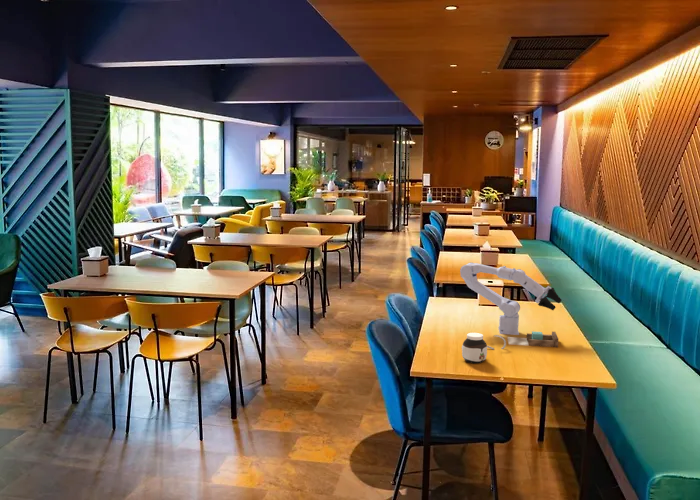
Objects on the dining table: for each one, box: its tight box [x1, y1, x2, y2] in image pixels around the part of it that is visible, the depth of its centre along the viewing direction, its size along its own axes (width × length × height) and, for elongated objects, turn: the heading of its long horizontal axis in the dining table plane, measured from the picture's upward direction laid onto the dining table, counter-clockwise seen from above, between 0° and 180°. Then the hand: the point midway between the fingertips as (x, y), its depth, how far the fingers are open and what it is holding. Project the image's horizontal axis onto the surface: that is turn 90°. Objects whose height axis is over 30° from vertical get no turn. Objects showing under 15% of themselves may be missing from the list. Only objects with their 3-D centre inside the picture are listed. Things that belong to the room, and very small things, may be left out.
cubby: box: [507, 331, 559, 348], centre depth 293 cm, size 22×12×5 cm, turn 79°
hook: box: [487, 334, 507, 351], centre depth 285 cm, size 7×9×20 cm
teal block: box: [531, 330, 544, 340], centre depth 293 cm, size 4×4×4 cm
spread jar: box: [461, 332, 488, 364], centre depth 269 cm, size 12×11×12 cm
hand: (557, 305), depth 297 cm, fingers open, 7 cm apart
